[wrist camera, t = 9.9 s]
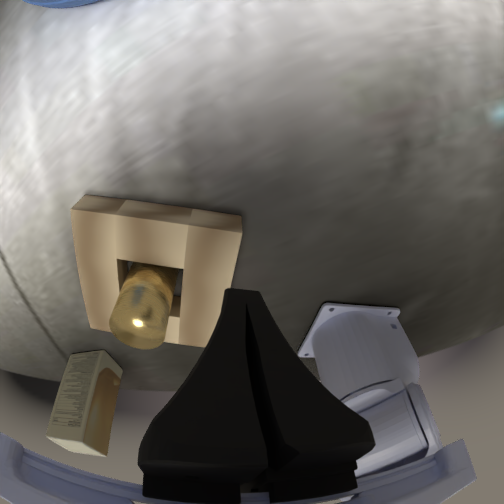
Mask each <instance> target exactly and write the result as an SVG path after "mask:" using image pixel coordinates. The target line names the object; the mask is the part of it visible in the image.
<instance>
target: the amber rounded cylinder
mask: <svg viewBox="0 0 504 504" xmlns="http://www.w3.org/2000/svg"><path fill="white" fill-rule="evenodd" d="M178 271H179V268H174V267H167V266H160V265H154V264H147V263H141V262H134V261H133V263H132V265H131V267H130V270H129V272H128V274H127V277H126V279H125V281H124V284H123V286H122V289H121V291H120V294H119V296H118V299H117V301H116V304H115V306H114V309H113V311H112V314H111V317H110V319H109V327H110V330H111V332H112V333H113V334H114V336H115V337H116V338H117V339H119V340H120V341H121V342H123V343H125V344H126V345H129V346H131V347H134V348H139V349H152V348H156V347H158V346H160V345H161V344H162V343H163V342H164V340H165V335H166V330H167V325H168V319H169V314H170V309H171V304H172V299H173V294H174V290H175V285H176V280H177V276H178Z"/></svg>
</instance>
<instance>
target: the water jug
mask: <svg viewBox="0 0 504 504" xmlns="http://www.w3.org/2000/svg"><path fill="white" fill-rule="evenodd" d="M23 1H25V2H27V3H30V4H34V5H38V6H43V7H49V8H68V7H75V6H81V5H85V4H89V3H93V2H96V1H99V0H23Z"/></svg>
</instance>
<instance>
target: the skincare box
mask: <svg viewBox="0 0 504 504" xmlns="http://www.w3.org/2000/svg"><path fill="white" fill-rule="evenodd" d="M122 372H123V370H122V368H121V367H120V366H119V365H118V364H117V363H116V362H115V361H114V360H113V359H112V358H111V357H110V355H109V354H108V353H107V352H106V351H105V350H100V351H92V352H85V353H77V354H71V355H70V358H69V361H68V363H67V366H66V369H65V372H64V375H63V378H62V381H61V384H60V388H59V391H58V394H57V397H56V400H55V404H54V407H53V410H52V414H51V418H50V422H49V425H48V429H47V433H46V437H47V438H49V439H50V440H52V441H53V442H55V443H57V444H58V445H60V446H62V447H63V448H65V449H67V450H69V451H71V452H76V453H82V454H88V455H96V456H104V457H107V453H108V446H109V440H110V433H111V427H112V421H113V416H114V410H115V405H116V399H117V395H118V390H119V386H120V381H121V377H122Z"/></svg>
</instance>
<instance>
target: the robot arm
mask: <svg viewBox="0 0 504 504" xmlns="http://www.w3.org/2000/svg"><path fill="white" fill-rule="evenodd" d="M330 308H331V309H330ZM399 314H400V310H399V308H390V307H375V306H361V305H348V304H336V303H325V304H323V305H322V306H321V308H320V310H319V312H318V314H317V316H316V318H315V320H314V322H313V324H312V326H311V328H310V330H309V332H308V334H307V336H306V338H305V340H304V342H303V343H302V345H301V347H300V349H299V351H298V356H299V357H315V361H316V364H317V368H318V372H319V376H320V380H321V382H319V381H318V380H317V379H316V377H315V376H314V375H313V374H312V373H311V372H310V371H309V370H308V368H307V367H306V366H305V365H304V364H303V362H302V361H301V360H300V359H299V357H298V356H297V355H296V353H295V352H294V351H293V349H292V348H291V346H290V345H289V344H288V342H287V341H286V339H285V337H284V336H283V334H282V333H281V331H280V329H279V328H278V326H277V324H276V323H275V321H274V319H273V317H272V316H271V314H270V312H269V310H268V308H267V306H266V304H265V302H264V300H263V298H262V296H261V294H260V292H259V291H252V290H243V289H234V288H227V289H225V291H224V296H223V302H222V307H221V313H220V316H219V318H218V321H217V324H216V326H215V329H214V331H213V333H212V335H211V337H210V339H209V341H208V343H207V345H206V347H205V349H204V351H203V353H202V355H201V356H200V358H199V360H198V361H197V363H196V365H195V366H194V368H193V369H192V371H191V372H190V374H189V376H188V377H187V378H186V380H185V381H184V383H183V384H182V385H181V387H180V388H179V389H178V391H177V392H176V393H175V394H174V396H173V397H172V398H171V400H170V401H169V402H168V403H167V404H166V405H165V406H164V408H163V409H162V410H161V411H160V412H159V413H158V414H157V415H156V416H155V418H154V419H153V420H152V422H151V424H150V426H149V427H148V429H147V431H146V433H145V435H144V437H143V439H142V441H141V444H140V448H139V454H138V466H139V467H140V469H141V470H142V471H143V473H144V477H143V485H140V484H135V483H130V482H125V481H120V480H116V479H112V478H108V477H105V476H101V475H97V474H94V473H90V472H87V471H84V470H80V469H77V468H74V467H71V466H68V465H66V464H63V463H60V462H57V461H55V460H52V459H50V458H47V457H45V456H42V455H40V454H38V453H35V452H33V451H30V450H28V449H26V448H24V447H23V446H22V445H21V444H20V443H19V442H17V441H16V440H14V439H12V438H11V437H9V436H7V435H5V434H3V433H1V432H0V497H1V498H3V499H5V500H6V501H8V502H10V503H11V504H135V503H133V502H132V501H136V502H141V503H147V504H316V503H321V502H327V501H332V500H336V499H339V500H342V501H344V502H341V503H337V504H441V503H442V502H444V501H445V500H446V499H448V498H450V497H451V496H453V495H454V494H456V493H457V492H459V491H460V490H462V489H463V488H465V487H466V486H468V485H469V484H471V483H472V482H474V481H475V480H476V479H477V477H476V474H475V471H474V468H473V465H472V462H471V459H470V456H469V454H468V451H467V448H466V445H465V443H464V440H463V439H460V440H458V441H455V442H453V443H451V444H449V445H447V446H445V447H443V445H442V442H441V440H440V436H441V435H440V433H439V430H438V428H437V425H436V422H435V420H434V417H433V415H432V412H431V410H430V408H429V405H428V403H427V400H426V398H425V395H424V393H423V391H422V389H421V386H420V385H418V384H417V383H418V380H419V374H420V369H419V368H420V367H419V361H418V357H417V355H416V353H415V351H414V349H413V347H412V345H411V343H410V341H409V339H408V337H407V335H406V333H405V332H404V330H403V328H402V326H401V324H400V322H399V320H398V319H397V317H398V315H399Z"/></svg>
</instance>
